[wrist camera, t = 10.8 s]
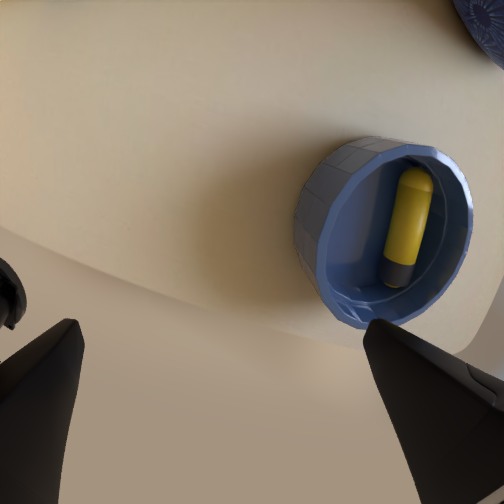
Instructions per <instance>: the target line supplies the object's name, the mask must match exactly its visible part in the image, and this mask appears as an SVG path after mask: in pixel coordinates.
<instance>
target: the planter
mask: <svg viewBox="0 0 504 504" xmlns="http://www.w3.org/2000/svg"><path fill="white" fill-rule="evenodd" d="M452 1H453V3H454V6H455V8H456V10H457V12H458V14H459V16H460V17H461V19H462V21H463V23H464V24H465V26H466V28H467V29H468V31H469V33H470V34H471V35H472V37H473V38H474V40H475V41H476V42H477V44H478V45H479V46H480V48H481V49H482V50H483V51H484V52H485V53H486V54H487V55H488V56H489V57H490V58H491V59H492V60H493V61H494V62H495V63H496V64H497V65H498V66H500V67H501V68H502V69H503V70H504V0H452Z"/></svg>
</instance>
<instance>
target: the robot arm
mask: <svg viewBox="0 0 504 504" xmlns="http://www.w3.org/2000/svg"><path fill="white" fill-rule="evenodd" d="M17 295H18V287H17V285H16V284H14V283H13V282H11V281H10V280H8V279H7V278H6V277H4V276H3V275H1V274H0V328H1V327H2V325H4V326H6V327H7V328H9V329H10V330H13V329H14V328H15V319H16V306H17ZM363 346H364V349H365V352H366V355H367V358H368V361H369V364H370V368H371V371H372V374H373V377H374V380H375V383H376V385H377V388H378V390H379V393H380V395H381V397H382V400H383V402H384V405H385V407H386V409H387V412H388V414H389V417H390V419H391V422H392V424H393V426H394V429H395V432H396V434H397V437H398V439H399V442H400V444H401V447H402V450H403V452H404V455H405V458H406V460H407V463H408V466H409V469H410V471H411V474H412V477H413V480H414V482H415V486H416V489H417V492H418V494H419V498H420V501H421V504H504V381H502V380H500V379H498V378H496V377H494V376H491V375H489V374H487V373H485V372H483V371H481V370H479V369H477V368H475V367H473V366H471V365H470V364H468V363H465V362H464V361H462V360H460V359H458V358H457V357H454V356H453V355H451V354H449V353H447V352H445V351H443V350H442V349H440V348H438V347H436V346H434V345H432V344H430V343H428V342H427V341H425V340H423V339H421V338H419V337H417V336H415V335H414V334H412V333H410V332H408V331H406V330H404V329H402V328H400V327H399V326H397V325H395V324H393V323H391V322H389V321H387V320H385V319H383V318H377V319H372V320H371V321H370V323H369V325H368V328H367V330H366V333H365V335H364V338H363ZM84 348H85V343H84V339H83V336H82V332H81V329H80V326H79V322H78V321H77V320H75V319H68V318H67V319H66V318H65V319H63V320H62V321H60V322H59V323H57V324H56V325H54V326H53V327H51V328H50V329H48V330H47V331H46V332H44V333H43V334H41V335H40V336H38V337H37V338H36V339H34V340H33V341H31V342H30V343H28V344H27V345H26V346H24V347H23V348H21V349H20V350H19V351H17V352H16V353H15V354H13V355H12V356H11V357H9V358H8V359H7V360H5V361H4V362H2V363H1V364H0V504H58V499H59V488H60V479H61V472H62V465H63V458H64V452H65V446H66V440H67V435H68V431H69V426H70V420H71V416H72V412H73V408H74V403H75V399H76V395H77V390H78V384H79V378H80V371H81V365H82V359H83V353H84ZM0 362H1V361H0Z"/></svg>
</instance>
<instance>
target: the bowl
mask: <svg viewBox="0 0 504 504" xmlns="http://www.w3.org/2000/svg"><path fill="white" fill-rule="evenodd" d="M410 168H420V169H422V170H424V171H425V172H426V173H428V175H429V176H430V177H431V180H432V182H433V194H432V199H431V203H430V208H429V212H428V217H427V221H426V225H425V229H424V233H423V237H422V241H421V244H420V248H419V251H418V255H417V258H416V264H415V267H414V270H413V273H412V276H411V279H410V282H409V284H408V285H407V286H405V287H398V288H393V287H389V286H387V285H386V284H385V283H384V282H383V281H381V280H380V279H379V278H378V276H377V271H378V268H379V264H380V260H381V257H382V253H383V251H384V248H385V243H386V239H387V235H388V231H389V227H390V222H391V218H392V213H393V208H394V203H395V198H396V193H397V187H398V182H399V178H400V176H401V175H402V173H403V172H404V171H406V170H407V169H410ZM472 230H473V203H472V198H471V194H470V191H469V187H468V184H467V181H466V178H465V177H464V175H463V174H462V172H461V171H460V169H459V168H458V166H457V165H456V164H455V162H454V161H453V160H452V159H451V158H450V157H448V156H447V155H445V154H443V153H442V152H440V151H439V150H437V149H436V148H434V147H431V146H427V145H423V144H418V143H413V142H408V141H403V140H398V139H392V138H381V137H366V138H363V139H359V140H356V141H353V142H350V143H347V144H344V145H343V146H341V147H340V148H339V149H337V150H336V151H335V152H333V153H332V154H331V155H329V156H328V157H327V158H325V159H324V160H323V161H322V162H321V163H320V164H319V165H318V167H317V168H316V170H315V171H314V173H313V174H312V176H311V177H310V178H309V180H308V181H307V183H306V184H305V186H304V188H303V190H302V194H301V197H300V200H299V203H298V206H297V209H296V212H295V216H294V245H295V247H296V250H297V253H298V256H299V259H300V262H301V266H302V268H303V269H304V271H305V273H306V274H307V276H308V278H309V279H310V281H311V283H312V284H313V286H314V288H315V289H316V291H317V293H318V294H319V296H320V298H321V300H322V301H323V303H324V304H325V305H326V306H327V308H328V309H329V310H330V311H331V312H332V314H333V315H334V316H335V317H336V318H337V319H338V320H339V321H341V322H343V323H346V324H348V325H350V326H352V327H354V328H356V329H363V330H367V328H368V325H369V323H370V321H371V320H372V319H377V318H383V319H385V320H387V321H389V322H391V323H393V324H395V325H397V326H399V325H401V324H404V323H406V322H408V321H409V320H411V319H413V318H415V317H417V316H418V315H420V314H422V313H423V312H424V311H426V310H427V309H428V308H429V307H430V306H431V305H432V304H434V303H435V302H436V301H437V300H438V299H439V298H440V297H441V296H442V295H443V294H444V292H445V291H446V290H447V288H448V287H449V286H450V284H451V283H452V281H453V280H454V279H455V277H456V275H457V274H458V272H459V269H460V267H461V265H462V263H463V261H464V259H465V256H466V254H467V252H468V247H469V243H470V239H471V234H472Z"/></svg>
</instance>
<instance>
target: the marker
mask: <svg viewBox="0 0 504 504" xmlns="http://www.w3.org/2000/svg"><path fill="white" fill-rule="evenodd" d="M432 194H433V182H432V180H431V177H430V176H429V175H428V173H426V172H425V171H424V170H422V169H420V168H410V169H407V170H406V171H404V172H403V173H402V175H401V176H400V178H399V182H398V187H397V193H396V198H395V203H394V208H393V213H392V218H391V222H390V227H389V231H388V235H387V239H386V243H385V248H384V251H383V253H382V257H381V260H380V264H379V268H378V271H377V276H378V278H379V279H380V280H381V281H383V282H384V283H385V284H386V285H387V286H389V287H393V288H398V287H405V286H407V285H408V284H409V282H410V279H411V276H412V273H413V270H414V267H415V264H416V258H417V255H418V251H419V248H420V244H421V241H422V237H423V233H424V229H425V225H426V221H427V217H428V212H429V208H430V203H431V199H432Z"/></svg>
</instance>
